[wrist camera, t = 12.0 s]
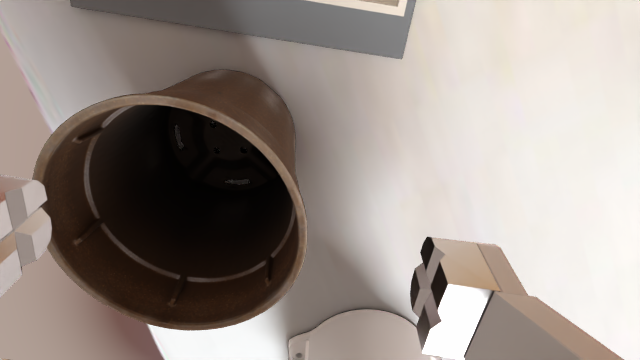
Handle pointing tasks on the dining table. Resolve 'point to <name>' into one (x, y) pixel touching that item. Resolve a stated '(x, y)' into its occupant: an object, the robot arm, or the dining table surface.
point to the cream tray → (371, 5)
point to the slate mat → (278, 21)
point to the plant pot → (178, 202)
